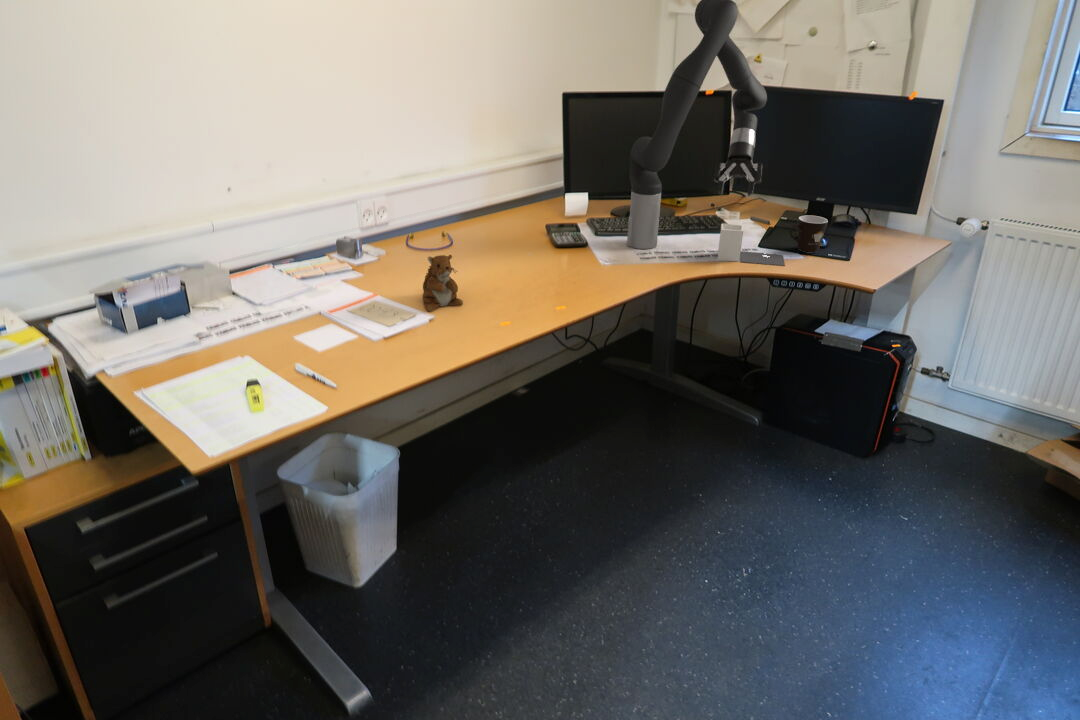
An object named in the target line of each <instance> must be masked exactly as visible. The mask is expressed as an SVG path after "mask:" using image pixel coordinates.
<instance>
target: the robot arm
mask: <svg viewBox="0 0 1080 720" xmlns="http://www.w3.org/2000/svg"><path fill="white" fill-rule="evenodd" d="M738 9H739V8H738V4H737V3H736V2H735V1H734V0H700V1H698V3H697V5H696V8H695V10H694V19H695V23H696V25H697V27H698V29H699V30H700V32H701V34H703V37H702V38H701V40H700V42H699V44H698V45H697V46H696V47H695V48H694V50H692V52H691V53H689V55H688V56H686V58H684V59H683V60H682V61H681V62H680V63H679V64H678V65H677V66H676V67H675V69H674V70H673V73H672V74H671V76H670V79H669V80H668V83H667V85H666V87H665V90H664V93H663V97H662V105H661V116H660V120H659V123H658V124H657V127H656V130H655V131H654V133H653V135H652V136H651V137H650V136H641V137H639V138H638V139H637V140H635V142H634V143H633V145H632V146H631V147H632V148H631V150H630V156H629V162H630V163H629V181H630V185H631V190H630V191H631V192H630V193H631V195H630V207H629V208H630V209H629V216H628V224H627V236H626V237H627V239H626V247H631V248H633V249H634V248H635V249H639V250H641V249H642V250H651V249H654V248H656V247H658V246H657V245H658V234H659V222H660V212H661V202H662V201H661V199H662V188H663V185H662V182H661V180H660V178H659V176H658V172H659V171H661V170H662V169H663V168H665V166H666V165H667V163H668V162H669V159H670V158H671V155H672V152H673V150H674V147H675V144H676V141H677V139H678V136H679V133H680V131H681V128H682V126H683V125H684V123H685V120H686V118H687V116H688V114H689V112H690V110H691V108H692V106H693V104H694V102H695V101H696V99H697V97H698V94H699V92H700V90H701V89H702V86H703V83H704V81H705V79H706V77H707V75H708V73H709V71H710V69H711V67H712V65H713V63H714V61H715V60H716V57H717V58H718V61H719V62H720V64H721V66H722V68H723V70H724V74H725V76H726V77H727V81H728V82H729V84H730V87H731V88H732V89H734V90H735V91H734V92H733V94H732V98H731V103H732V104H731V105H732V109H733V117H734V120H733V128H732V129H733V130H732V135H731V136H730V143H729V147H728V148H729V150H728V155H727V161H726V162H725V163H724V162H721V161H717V162H716V164H715V169H714V174H713V181H714V183H717V185H718V186H717V191H718V194H719V195H720V196H723V193H724V187H725V182H727V181H729V179H731V178H733V179H735V178H740V179H743V178H746V180H747V181H748V188H747V196H748V197H751V195H753V193H754V191H755V190H754V189H755V185H756V184H761V183H762V176H763V163H762V161H758V162H757V163H753V162H754V161H753V160H754V159H753V158H754V155H755V154H754V153H755V148H756V133H757V127H758V118H757V117H758V116H756V115H755V114H754V113H752V112H749V111H756V110H760V109H763V108H764V107H765V106H766V103H767V101H768V94H767V91H766V89H765V87H764V85H763V84H762V83H761V82H760V81H759V80H758V79H757V77H755V75H754V74H753V72H752V69H751V68H750V65H749V62H748V59H747V58H746V56H745V55H744V53H743V52H742V50H741V49H740V48H739V47H738V46H737V44H736V43H735V42H734V40H733V39H732V38H731V36H730V34H731V32H732V31H733V29H734V26H735V25H736V22H737V19H738V14H739V10H738ZM723 169H726V170H725V171H724V172H723V174H722V175H721V171H723ZM753 169H754V171H756V177H753V175H752V172H751V171H752V170H753ZM720 175H721V176H720Z"/></svg>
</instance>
